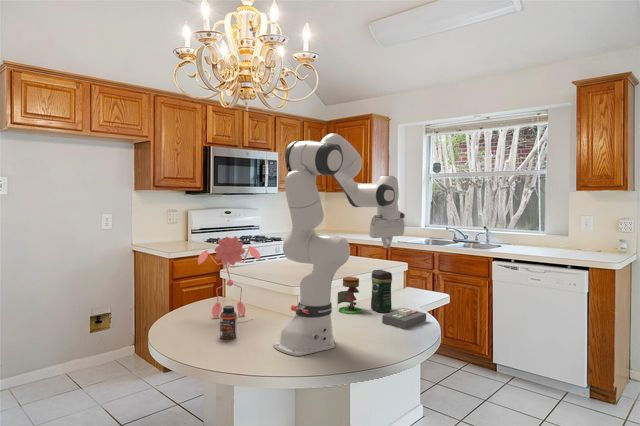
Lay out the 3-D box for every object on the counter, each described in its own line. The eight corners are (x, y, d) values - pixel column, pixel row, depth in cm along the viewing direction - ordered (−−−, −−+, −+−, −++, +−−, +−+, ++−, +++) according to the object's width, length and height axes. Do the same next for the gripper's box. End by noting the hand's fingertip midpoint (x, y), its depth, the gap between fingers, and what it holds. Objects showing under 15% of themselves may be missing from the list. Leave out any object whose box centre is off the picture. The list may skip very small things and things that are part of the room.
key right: (412, 318, 180) (412, 312, 180) (405, 316, 183) (405, 310, 183) (416, 317, 183) (417, 311, 183) (409, 315, 185) (409, 309, 185)
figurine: (197, 315, 184) (198, 234, 182) (257, 312, 191) (258, 234, 189) (197, 327, 170) (197, 239, 167) (262, 323, 176) (263, 238, 174)
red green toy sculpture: (368, 309, 198) (369, 277, 198) (355, 316, 188) (356, 282, 187) (346, 305, 205) (347, 274, 204) (332, 311, 194) (333, 278, 194)
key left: (398, 323, 173) (398, 317, 173) (391, 321, 176) (391, 315, 176) (403, 321, 176) (403, 315, 176) (396, 320, 178) (396, 313, 178)
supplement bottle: (220, 340, 154) (220, 309, 154) (219, 335, 160) (219, 305, 159) (237, 339, 156) (237, 308, 155) (235, 333, 162) (236, 304, 161)
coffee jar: (394, 311, 195) (395, 271, 194) (380, 313, 192) (380, 272, 191) (382, 306, 204) (382, 268, 203) (368, 308, 200) (368, 269, 199)
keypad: (404, 329, 170) (405, 321, 170) (382, 323, 178) (382, 315, 177) (426, 321, 181) (426, 313, 181) (404, 315, 189) (404, 308, 189)
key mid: (405, 318, 177) (405, 311, 177) (398, 316, 179) (398, 310, 179) (410, 316, 179) (410, 310, 179) (403, 314, 182) (403, 308, 182)
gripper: (378, 215, 170) (377, 250, 170) (407, 214, 184) (406, 246, 185) (366, 214, 174) (365, 248, 175) (395, 213, 189) (394, 244, 189)
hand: (386, 247), depth 180 cm, fingers closed
